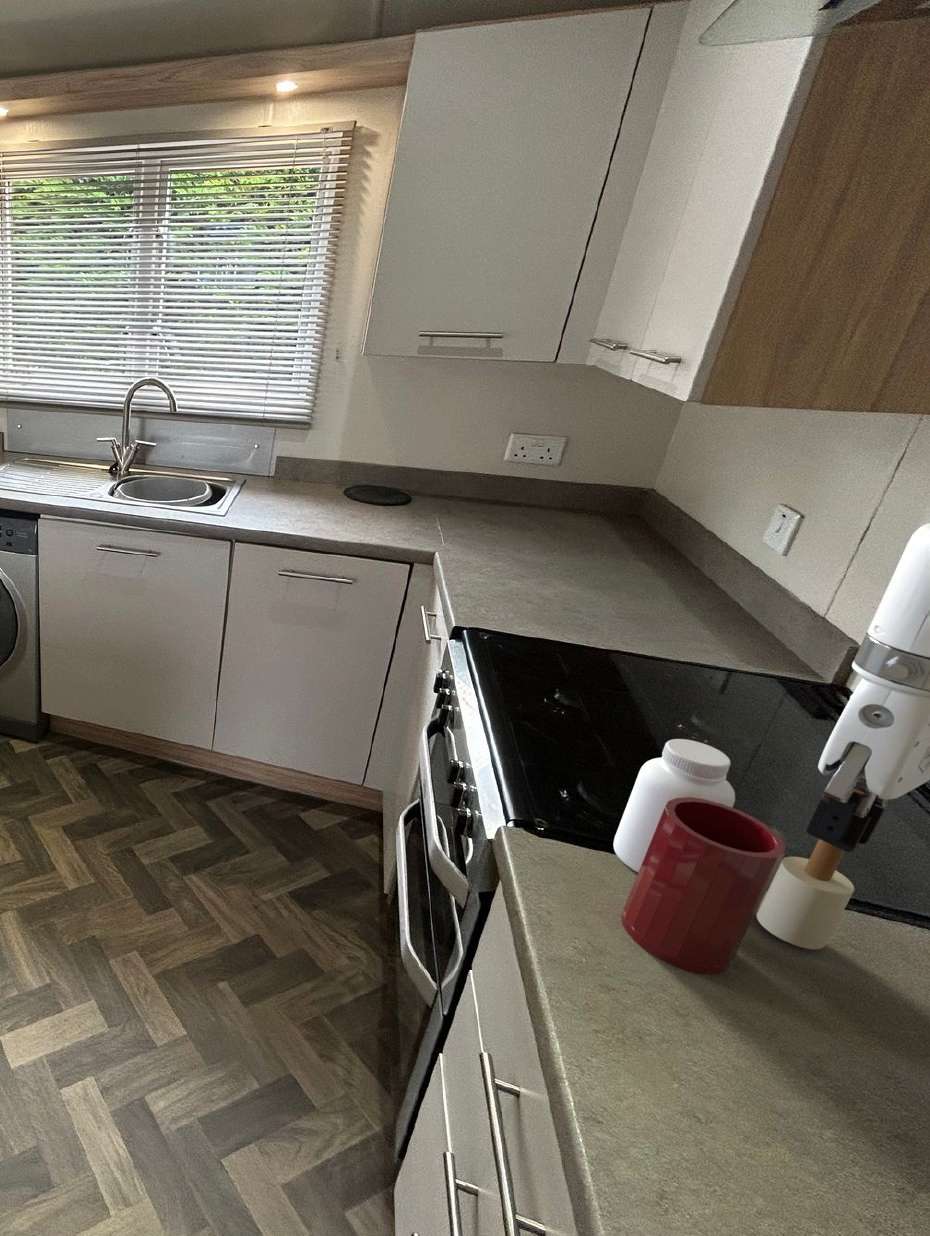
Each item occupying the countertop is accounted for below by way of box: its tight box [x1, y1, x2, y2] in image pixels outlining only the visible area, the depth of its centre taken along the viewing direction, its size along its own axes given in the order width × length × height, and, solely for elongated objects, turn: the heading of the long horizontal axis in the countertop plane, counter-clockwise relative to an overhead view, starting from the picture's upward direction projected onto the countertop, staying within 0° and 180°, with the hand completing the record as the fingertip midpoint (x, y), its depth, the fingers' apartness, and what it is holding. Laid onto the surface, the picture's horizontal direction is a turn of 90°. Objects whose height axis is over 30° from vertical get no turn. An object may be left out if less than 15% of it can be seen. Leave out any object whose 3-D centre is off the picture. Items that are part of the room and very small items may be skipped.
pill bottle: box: [612, 738, 736, 873], centre depth 78 cm, size 8×8×15 cm
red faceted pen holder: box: [620, 797, 787, 975], centre depth 69 cm, size 8×8×14 cm
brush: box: [756, 789, 864, 950], centre depth 69 cm, size 5×5×17 cm
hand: (836, 836), depth 67 cm, fingers closed on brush
